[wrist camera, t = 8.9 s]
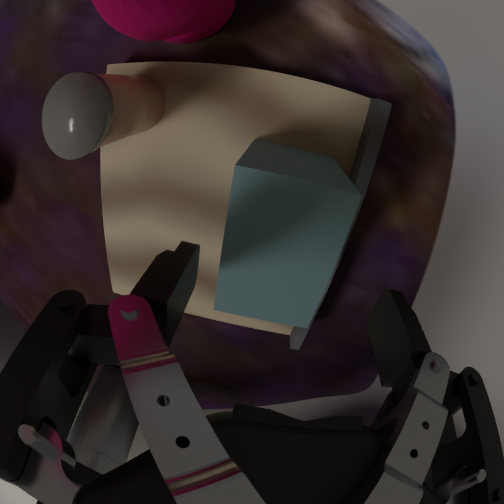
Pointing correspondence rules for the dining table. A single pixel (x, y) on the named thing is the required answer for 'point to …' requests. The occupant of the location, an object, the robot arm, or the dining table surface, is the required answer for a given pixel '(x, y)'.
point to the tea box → (283, 233)
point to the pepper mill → (166, 18)
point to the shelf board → (220, 164)
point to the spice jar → (98, 111)
